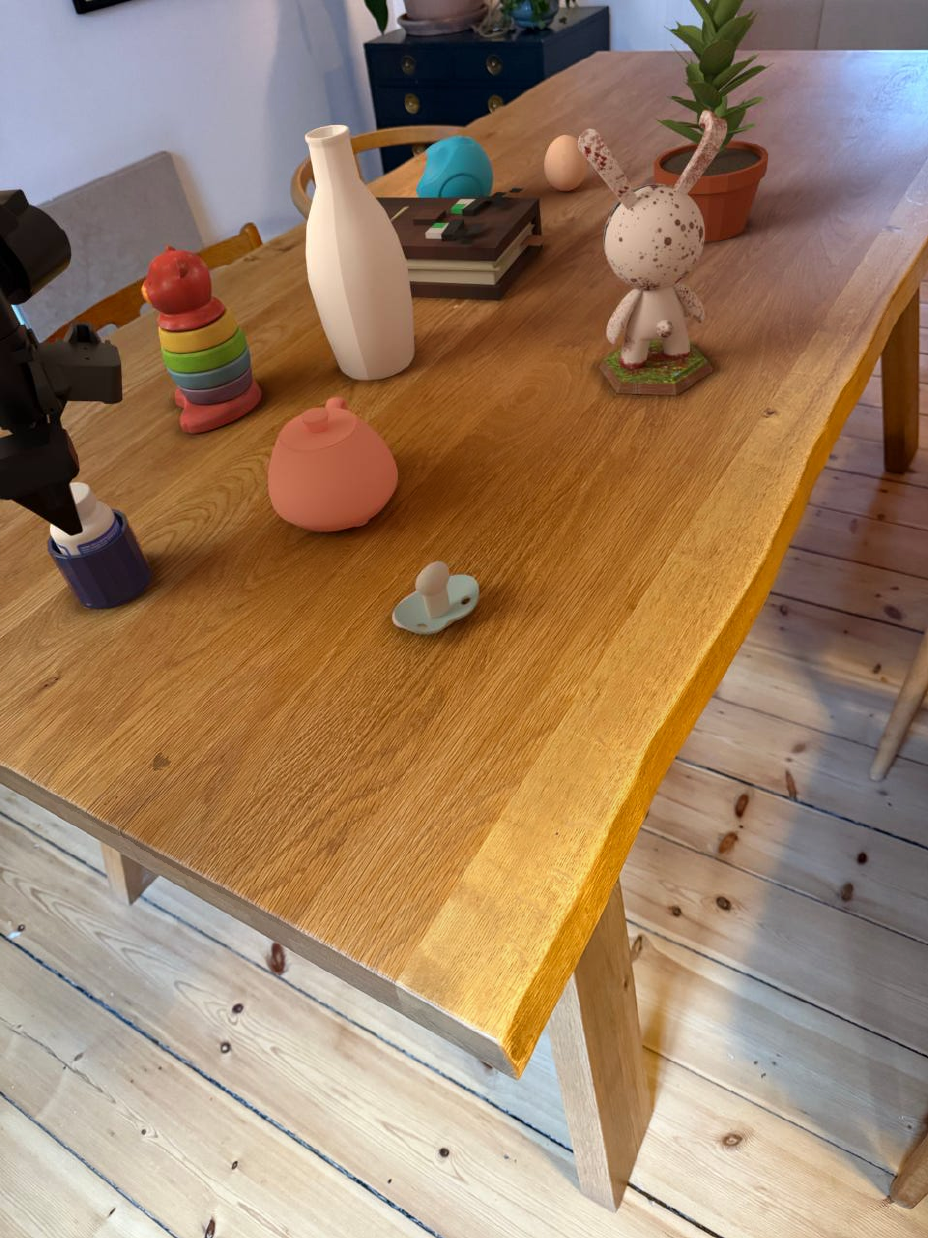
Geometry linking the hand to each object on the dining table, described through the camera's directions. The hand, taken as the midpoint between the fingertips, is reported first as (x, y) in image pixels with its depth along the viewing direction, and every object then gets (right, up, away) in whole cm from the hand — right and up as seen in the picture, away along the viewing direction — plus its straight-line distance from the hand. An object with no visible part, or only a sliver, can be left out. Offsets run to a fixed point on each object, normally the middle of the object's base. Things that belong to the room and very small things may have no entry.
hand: (73, 504), depth 76 cm
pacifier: (+31, -10, -3) cm, 33 cm away
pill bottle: (+1, -6, +6) cm, 9 cm away
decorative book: (+30, +39, +49) cm, 69 cm away
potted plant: (+67, +44, +46) cm, 92 cm away
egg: (+50, +58, +65) cm, 100 cm away
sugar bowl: (+22, +2, +11) cm, 24 cm away
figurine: (+54, +17, +21) cm, 60 cm away
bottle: (+23, +21, +31) cm, 44 cm away
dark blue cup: (+1, -6, +6) cm, 9 cm away
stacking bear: (+5, +15, +29) cm, 33 cm away
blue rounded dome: (+33, +52, +62) cm, 87 cm away
